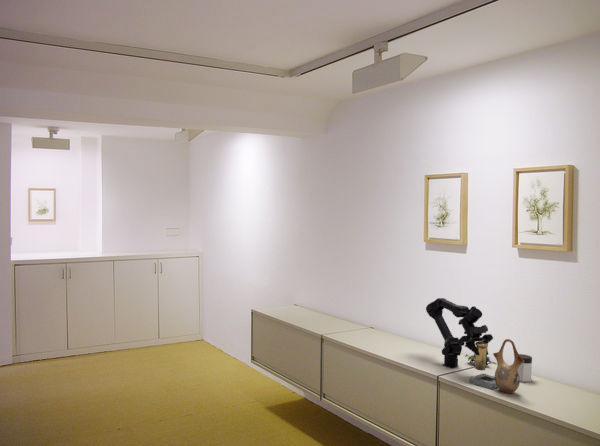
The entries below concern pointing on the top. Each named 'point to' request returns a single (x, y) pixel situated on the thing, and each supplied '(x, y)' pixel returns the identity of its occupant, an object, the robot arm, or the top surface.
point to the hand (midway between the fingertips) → (482, 354)
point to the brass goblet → (481, 355)
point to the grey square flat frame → (484, 381)
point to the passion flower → (475, 357)
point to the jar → (525, 368)
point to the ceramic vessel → (507, 370)
